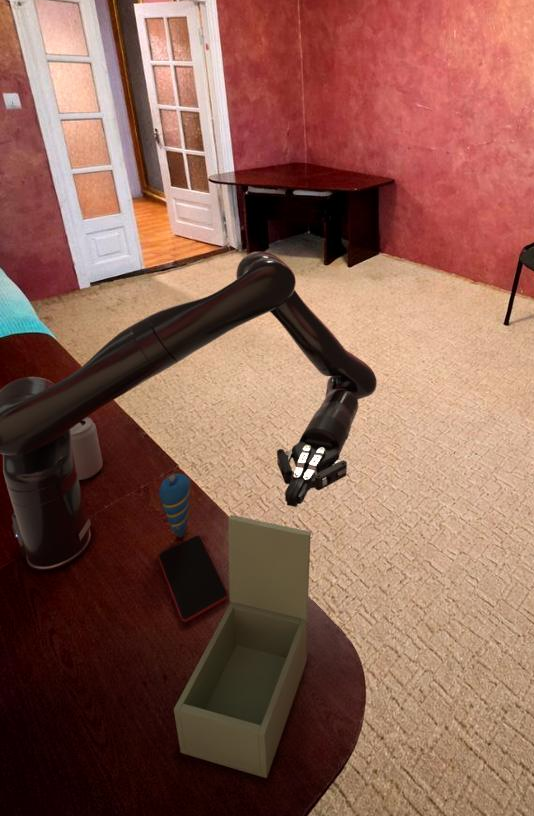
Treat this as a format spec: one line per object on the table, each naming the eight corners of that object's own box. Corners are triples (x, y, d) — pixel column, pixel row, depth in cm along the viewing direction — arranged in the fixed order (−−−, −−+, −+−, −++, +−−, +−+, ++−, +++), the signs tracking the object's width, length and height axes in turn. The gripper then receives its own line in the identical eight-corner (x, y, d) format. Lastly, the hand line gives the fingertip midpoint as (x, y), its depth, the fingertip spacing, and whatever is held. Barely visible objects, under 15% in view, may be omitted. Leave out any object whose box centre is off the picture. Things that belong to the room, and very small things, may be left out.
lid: (308, 536, 64) (310, 531, 65) (227, 518, 66) (230, 514, 66) (305, 619, 68) (307, 614, 68) (229, 601, 69) (232, 596, 70)
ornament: (199, 526, 92) (193, 463, 87) (189, 549, 87) (182, 484, 82) (172, 525, 92) (163, 462, 87) (160, 549, 87) (150, 483, 82)
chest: (266, 778, 59) (264, 734, 56) (180, 753, 60) (173, 709, 57) (307, 660, 71) (306, 619, 68) (234, 641, 73) (231, 601, 70)
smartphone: (199, 533, 89) (229, 595, 79) (199, 537, 90) (230, 599, 79) (156, 553, 85) (182, 622, 74) (157, 557, 85) (183, 626, 74)
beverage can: (109, 462, 106) (101, 417, 102) (89, 484, 100) (79, 436, 96) (82, 459, 106) (73, 413, 102) (60, 480, 100) (49, 433, 96)
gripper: (293, 408, 89) (249, 474, 73) (362, 420, 87) (333, 490, 71) (294, 441, 92) (252, 512, 76) (361, 453, 90) (332, 529, 74)
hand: (291, 502), depth 73 cm, fingers closed
